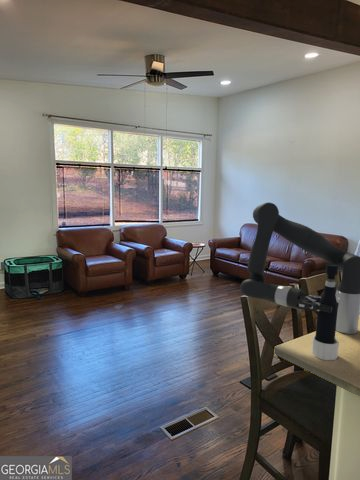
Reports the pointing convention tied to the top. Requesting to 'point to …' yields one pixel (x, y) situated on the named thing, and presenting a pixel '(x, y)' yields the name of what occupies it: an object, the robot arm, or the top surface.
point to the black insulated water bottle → (325, 319)
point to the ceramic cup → (325, 349)
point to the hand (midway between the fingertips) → (334, 307)
